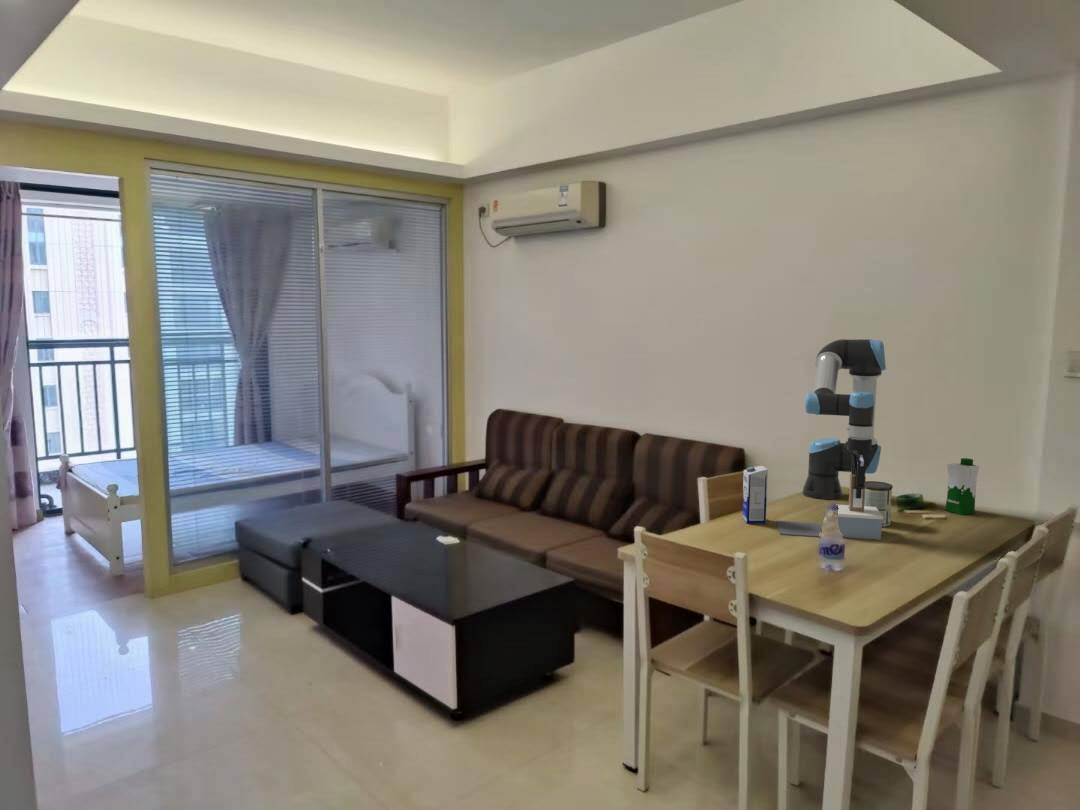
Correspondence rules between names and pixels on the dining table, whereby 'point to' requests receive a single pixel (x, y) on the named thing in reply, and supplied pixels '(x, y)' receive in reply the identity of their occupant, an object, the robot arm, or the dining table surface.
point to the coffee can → (879, 498)
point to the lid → (858, 512)
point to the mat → (798, 528)
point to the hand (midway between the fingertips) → (856, 505)
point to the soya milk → (961, 487)
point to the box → (860, 527)
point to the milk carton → (754, 495)
